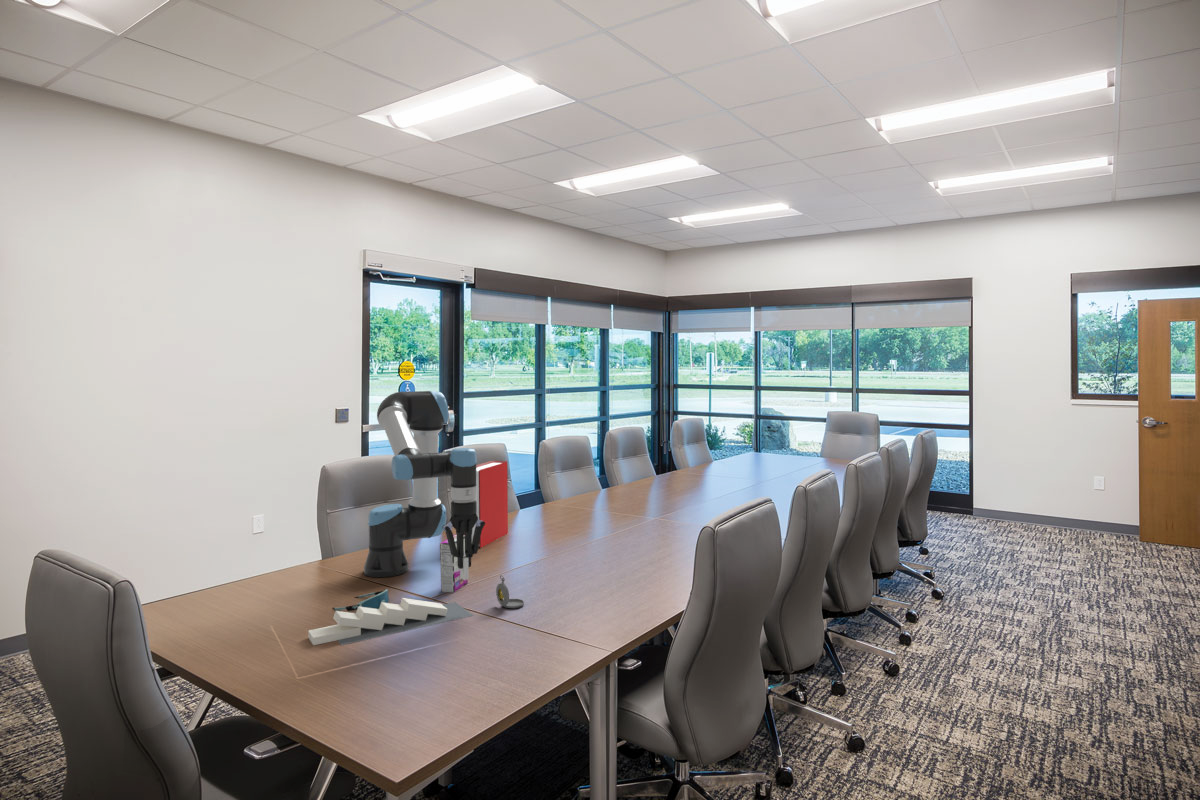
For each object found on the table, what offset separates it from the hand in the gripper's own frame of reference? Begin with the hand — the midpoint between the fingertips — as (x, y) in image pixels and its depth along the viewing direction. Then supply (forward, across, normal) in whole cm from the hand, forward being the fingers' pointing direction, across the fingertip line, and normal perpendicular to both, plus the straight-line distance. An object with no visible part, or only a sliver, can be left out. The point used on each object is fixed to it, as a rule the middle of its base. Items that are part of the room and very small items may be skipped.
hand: (464, 578), depth 198 cm
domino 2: (+8, -25, 0) cm, 26 cm away
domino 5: (+8, -7, 0) cm, 11 cm away
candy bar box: (+10, +5, +21) cm, 24 cm away
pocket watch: (+10, +12, -5) cm, 16 cm away
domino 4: (+8, -13, 0) cm, 15 cm away
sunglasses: (+10, -24, +21) cm, 34 cm away
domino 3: (+8, -19, 0) cm, 21 cm away
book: (+10, +41, +73) cm, 84 cm away
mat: (+10, -19, 0) cm, 21 cm away
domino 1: (+8, -31, 0) cm, 32 cm away
